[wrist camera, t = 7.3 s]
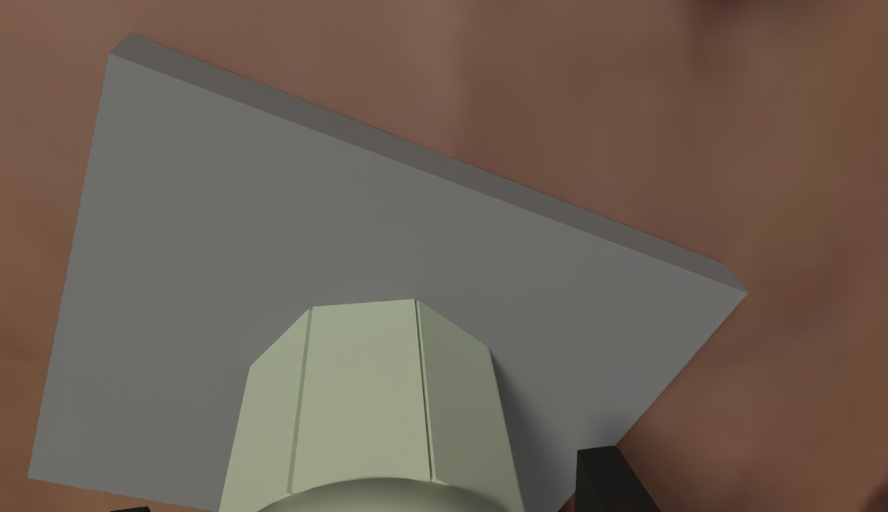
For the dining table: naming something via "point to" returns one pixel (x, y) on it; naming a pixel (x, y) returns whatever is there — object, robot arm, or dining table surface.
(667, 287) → the mat
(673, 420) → the dining table surface
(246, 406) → the cap
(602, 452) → the robot arm
